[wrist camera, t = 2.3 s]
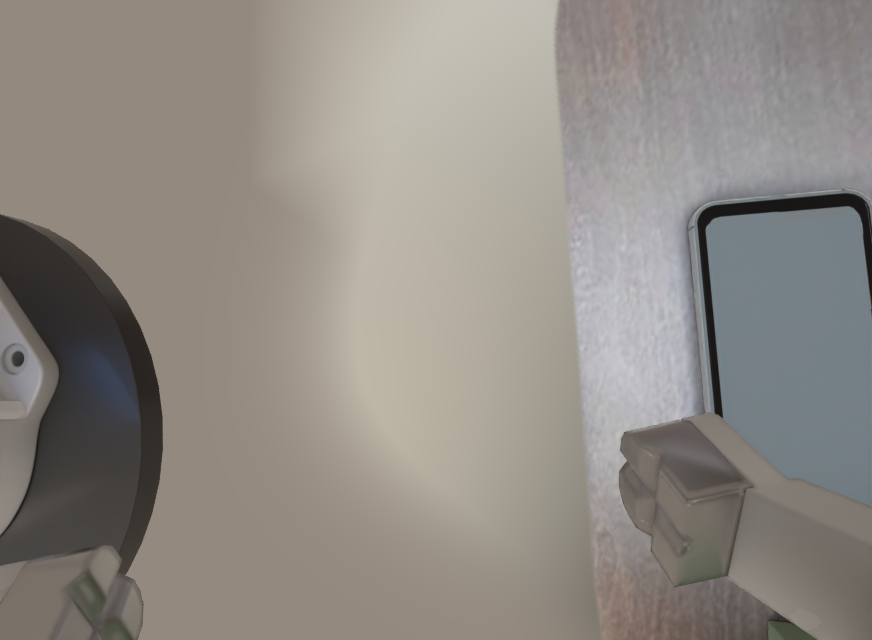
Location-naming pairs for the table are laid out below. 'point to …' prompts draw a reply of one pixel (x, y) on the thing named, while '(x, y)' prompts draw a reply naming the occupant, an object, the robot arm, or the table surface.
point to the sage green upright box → (786, 632)
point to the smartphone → (790, 329)
